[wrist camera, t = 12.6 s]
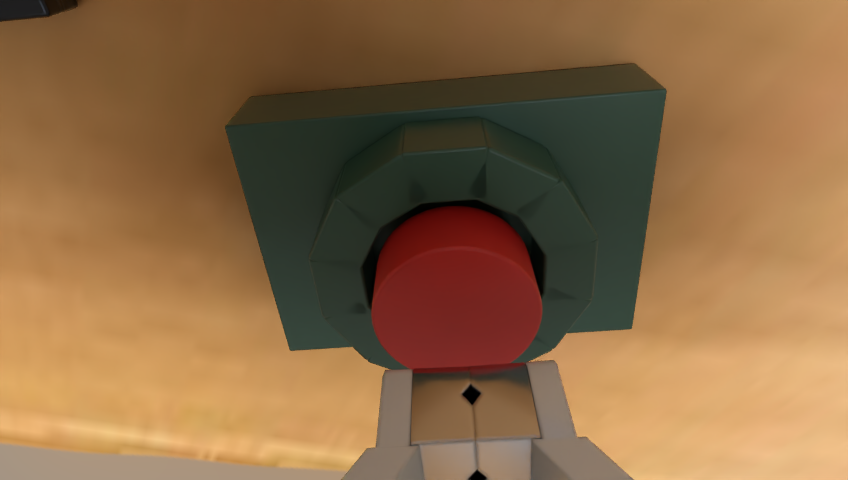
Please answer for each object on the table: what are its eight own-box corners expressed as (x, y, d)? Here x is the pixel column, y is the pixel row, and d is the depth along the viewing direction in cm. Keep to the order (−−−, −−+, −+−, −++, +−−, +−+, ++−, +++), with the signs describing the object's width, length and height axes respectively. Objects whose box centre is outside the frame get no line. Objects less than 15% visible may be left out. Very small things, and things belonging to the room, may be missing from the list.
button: (386, 333, 14) (382, 385, 13) (367, 210, 12) (359, 254, 11) (528, 324, 14) (541, 375, 13) (531, 198, 12) (545, 241, 11)
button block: (303, 304, 18) (275, 399, 15) (249, 96, 15) (195, 158, 11) (610, 283, 18) (654, 376, 14) (636, 62, 14) (702, 117, 11)
